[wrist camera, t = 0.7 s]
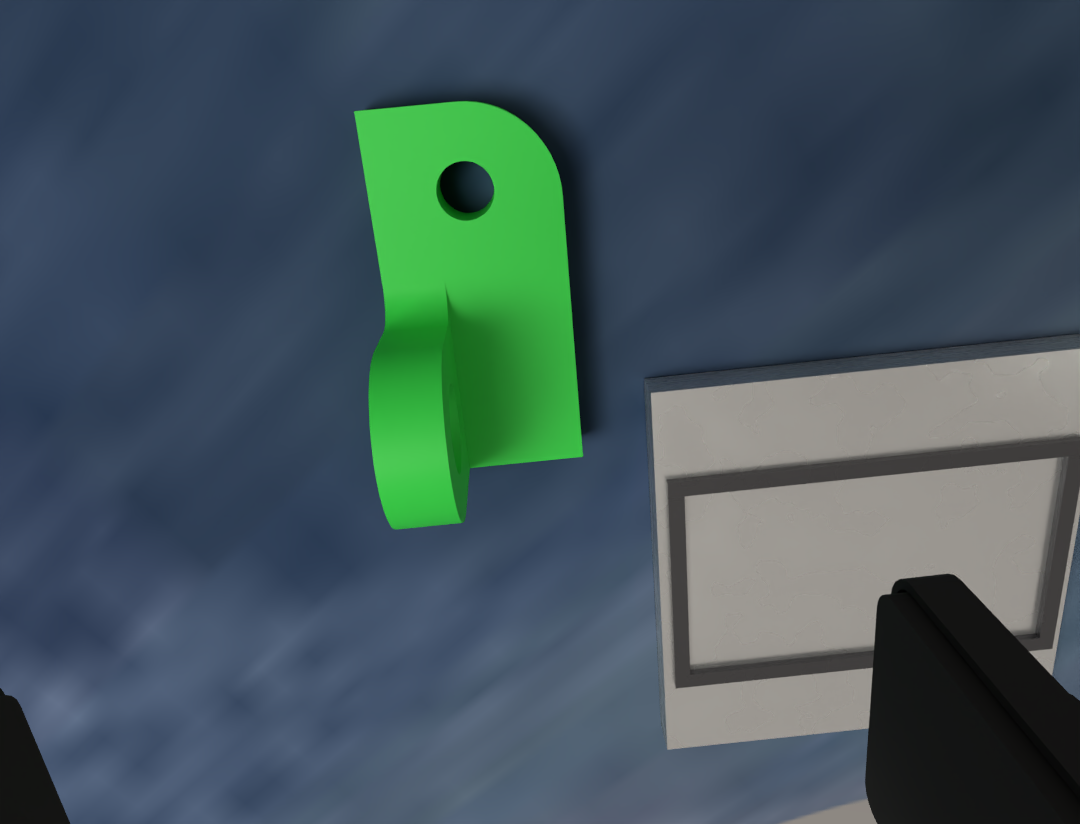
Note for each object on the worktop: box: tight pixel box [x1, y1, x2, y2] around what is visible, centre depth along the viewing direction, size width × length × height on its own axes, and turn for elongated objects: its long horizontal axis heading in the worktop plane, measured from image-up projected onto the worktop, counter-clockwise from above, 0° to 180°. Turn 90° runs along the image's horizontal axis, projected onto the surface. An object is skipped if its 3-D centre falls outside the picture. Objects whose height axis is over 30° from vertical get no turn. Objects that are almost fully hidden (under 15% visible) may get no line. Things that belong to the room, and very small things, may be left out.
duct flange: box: [644, 334, 1080, 750], centre depth 32 cm, size 16×16×2 cm
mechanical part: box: [354, 101, 583, 529], centre depth 25 cm, size 12×6×8 cm, turn 5°
